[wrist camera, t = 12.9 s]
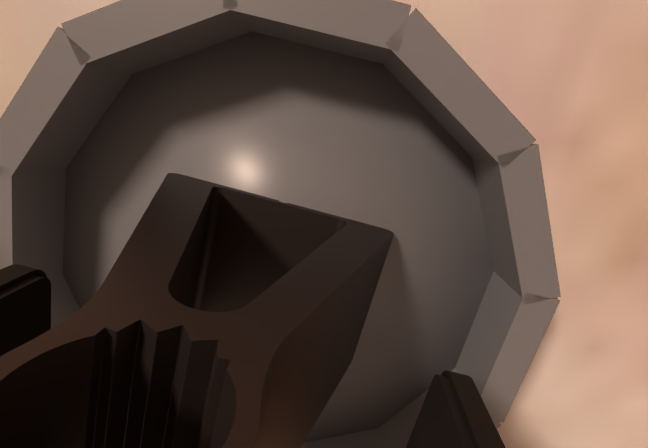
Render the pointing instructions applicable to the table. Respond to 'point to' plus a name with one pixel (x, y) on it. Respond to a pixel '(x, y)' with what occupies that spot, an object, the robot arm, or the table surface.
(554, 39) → the table surface
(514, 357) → the round tray
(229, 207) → the phone stand
